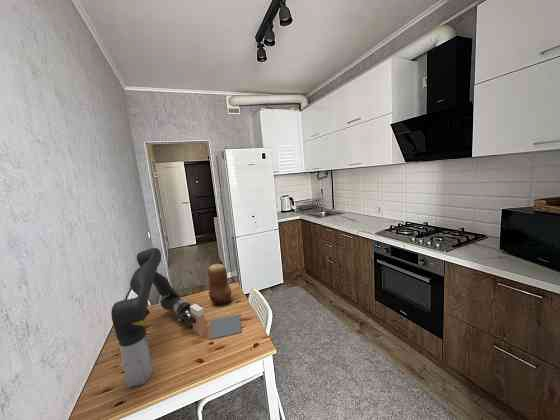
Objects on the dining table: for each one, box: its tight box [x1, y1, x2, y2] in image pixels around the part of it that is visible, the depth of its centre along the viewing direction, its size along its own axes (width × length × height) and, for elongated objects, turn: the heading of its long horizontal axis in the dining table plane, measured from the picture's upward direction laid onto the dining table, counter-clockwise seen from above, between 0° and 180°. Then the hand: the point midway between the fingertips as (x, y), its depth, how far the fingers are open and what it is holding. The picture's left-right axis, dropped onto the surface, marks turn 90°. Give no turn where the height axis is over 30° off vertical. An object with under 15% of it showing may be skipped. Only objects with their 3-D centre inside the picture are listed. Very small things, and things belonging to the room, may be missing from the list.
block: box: [190, 303, 208, 338], centre depth 116 cm, size 3×8×14 cm, turn 49°
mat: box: [208, 313, 243, 341], centre depth 120 cm, size 16×16×1 cm
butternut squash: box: [207, 263, 232, 305], centre depth 144 cm, size 14×13×25 cm
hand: (198, 319), depth 116 cm, fingers open, 3 cm apart
